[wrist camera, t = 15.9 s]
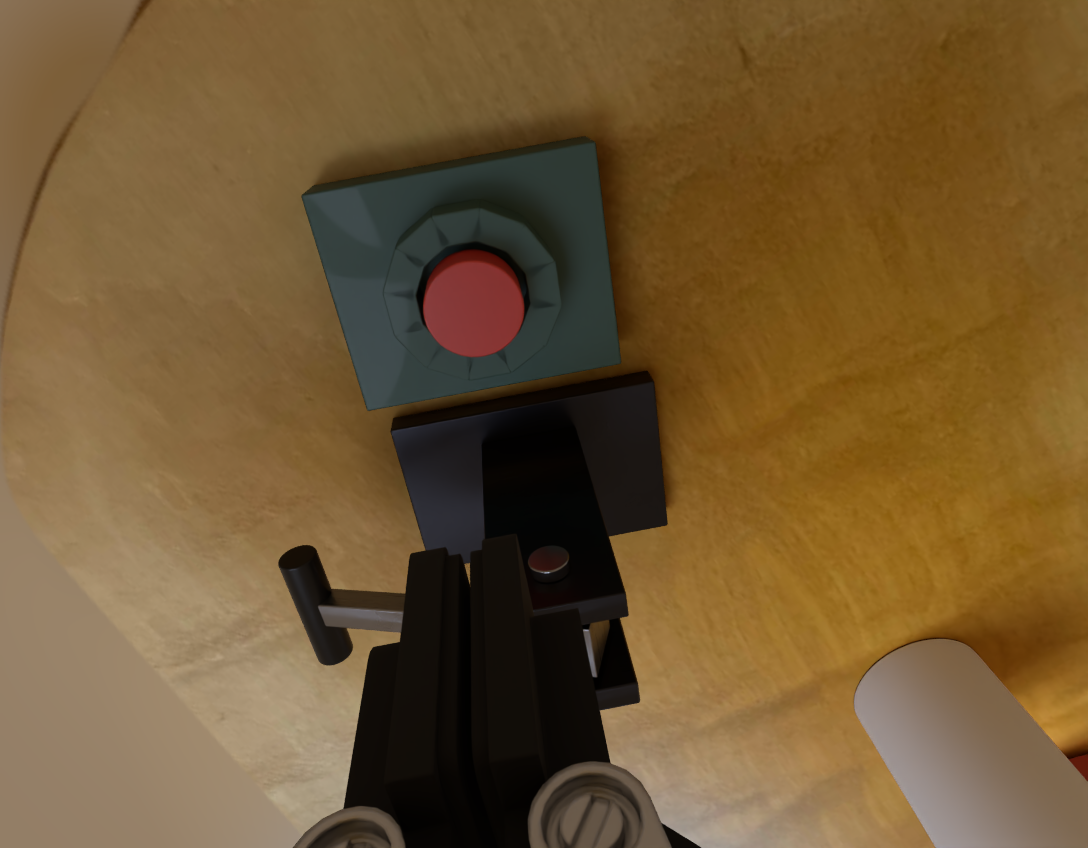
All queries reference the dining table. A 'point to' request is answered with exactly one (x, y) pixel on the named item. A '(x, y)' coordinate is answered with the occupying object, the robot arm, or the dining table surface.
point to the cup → (969, 752)
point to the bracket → (546, 494)
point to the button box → (460, 224)
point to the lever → (365, 610)
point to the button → (473, 303)
